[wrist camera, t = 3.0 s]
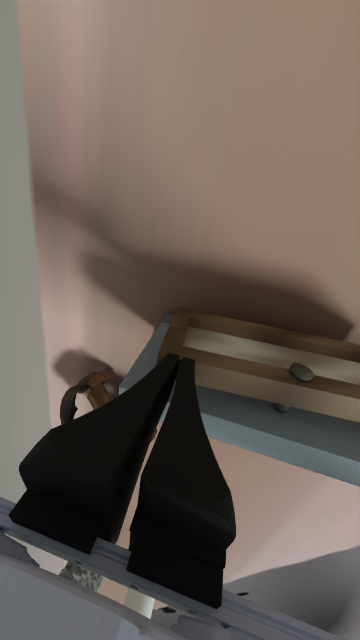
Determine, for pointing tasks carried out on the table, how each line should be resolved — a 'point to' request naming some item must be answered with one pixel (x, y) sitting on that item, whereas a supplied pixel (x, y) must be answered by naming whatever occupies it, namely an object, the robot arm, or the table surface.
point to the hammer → (82, 576)
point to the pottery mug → (94, 397)
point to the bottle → (139, 602)
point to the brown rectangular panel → (268, 363)
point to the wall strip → (266, 424)
